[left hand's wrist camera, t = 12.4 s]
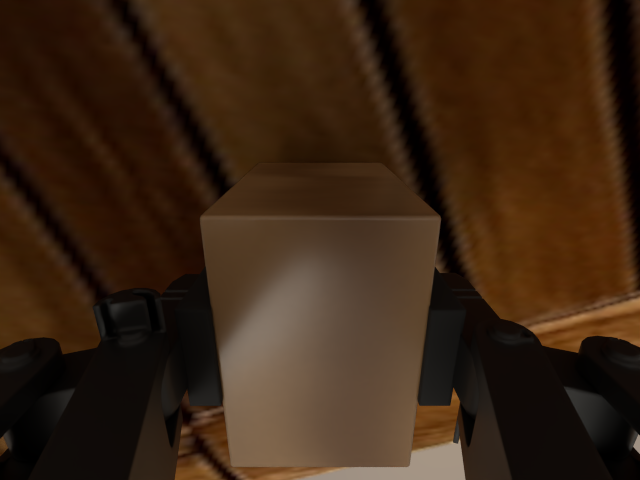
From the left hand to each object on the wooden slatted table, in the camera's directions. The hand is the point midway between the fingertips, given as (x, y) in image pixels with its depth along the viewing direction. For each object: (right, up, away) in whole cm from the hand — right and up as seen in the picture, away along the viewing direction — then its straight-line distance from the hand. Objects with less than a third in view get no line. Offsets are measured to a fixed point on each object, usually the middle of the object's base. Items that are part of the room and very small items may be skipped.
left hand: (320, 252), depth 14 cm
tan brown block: (0, 0, +1) cm, 1 cm away
